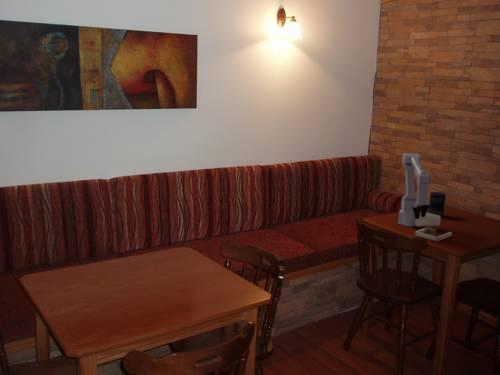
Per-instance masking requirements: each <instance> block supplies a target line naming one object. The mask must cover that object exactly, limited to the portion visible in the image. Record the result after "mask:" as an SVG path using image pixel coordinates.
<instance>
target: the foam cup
mask: <svg viewBox="0 0 500 375" xmlns="http://www.w3.org/2000/svg"><path fill="white" fill-rule="evenodd" d="M441 221H442V220H441V217H440V216H439V215H435V214H431V213H428V212H426V215H425V217H421V213H420V217H419V219H416V218H415V226H416V227H419V228H420V227H440V226H441V225H440V224H441Z"/></svg>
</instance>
